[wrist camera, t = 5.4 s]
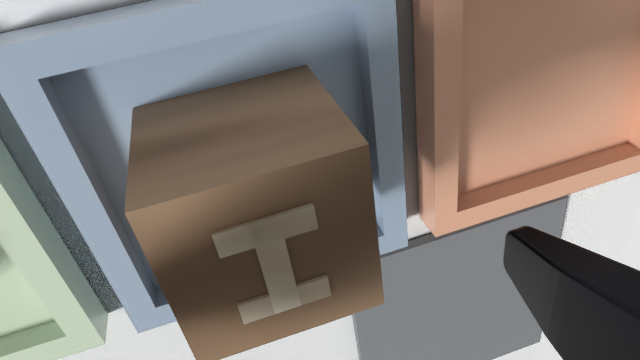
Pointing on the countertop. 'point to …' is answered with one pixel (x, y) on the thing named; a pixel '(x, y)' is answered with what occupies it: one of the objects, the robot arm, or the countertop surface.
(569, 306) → the robot arm
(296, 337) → the countertop surface
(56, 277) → the dish sage
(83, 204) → the dish slate
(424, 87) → the dish terracotta
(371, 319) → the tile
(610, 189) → the countertop surface
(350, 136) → the letter cube
